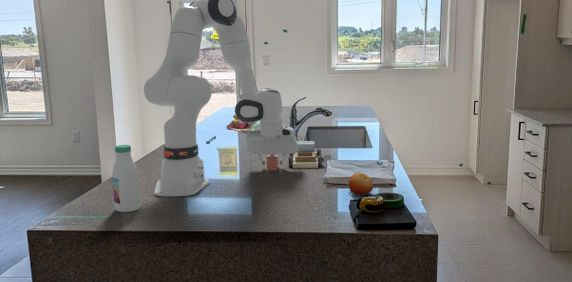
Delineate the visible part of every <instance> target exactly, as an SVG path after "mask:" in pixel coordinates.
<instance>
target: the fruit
mask: <svg viewBox="0 0 572 282" xmlns="http://www.w3.org/2000/svg"><path fill="white" fill-rule="evenodd" d="M348 188H349V192H348V195H349V194H353V195H355V196H358V195H359V197H365V196H366V195H368V194H370V193H371V192H372V191H373V189H374V183H373V180H372V178H370V176H368V175H367V174H365V173H361V172H356V173H354V174H352V175H351V176H350V178H349V180H348Z"/></svg>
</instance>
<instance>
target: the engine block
mask: <svg viewBox="0 0 572 282" xmlns="http://www.w3.org/2000/svg"><path fill="white" fill-rule="evenodd" d="M278 155H279V154H267V155H266V171H278V169H279V168H278V167H279V158H278Z"/></svg>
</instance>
